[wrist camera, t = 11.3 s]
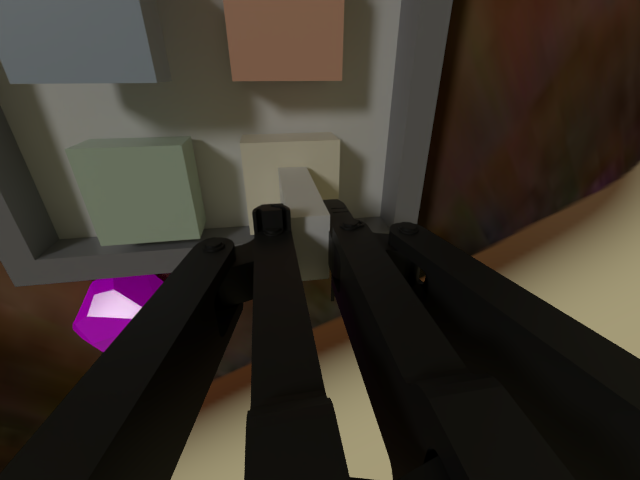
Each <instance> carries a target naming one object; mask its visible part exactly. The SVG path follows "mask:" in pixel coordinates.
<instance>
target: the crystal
mask: <svg viewBox="0 0 640 480" xmlns="http://www.w3.org/2000/svg"><path fill="white" fill-rule="evenodd" d="M162 283H163V281H162V280H161V279H159V278H158V277H157V276H156V275H154V274H151V275H140V276H129V277H117V278H106V279H97V280H95V281H93V282H92V283H91V285H90V287H89V289H88V292H87V294H86V296H85V299H84V301H83V304H82V306H81V308H80V310H79V312H78V314H77V316H76V319H75V321H74V323H73V330H74V331H75V332H76V333H77V334H78V335H79V336H80V337H81V338H82V339H83V340H85V341H86V342H88V343H90V344H91V345H93V346H94V347H96V348H97V349H99V350H100V351H102V352H104V351H105V350H106V349H107V348H108V347H109V345H110V344H111V343H112V342H113V341H114V340H115V338H116V337H117V336H118V335H119V334H120V333H121V331H122V330H123V329H124V328H125V327H126V326H127V324H128V323H129V322H130V321H131V320H132V318H133V317H134V316H135V315H136V314H137V313H138V311H139V310H140V309H141V308H142V307H143V306H144V304H145V303H146V302H147V301H148V300H149V299H150V297H151V296H152V295H153V294H154V293H155V292H156V290H157V289H158V288H159V287H160V286H161V285H162Z"/></svg>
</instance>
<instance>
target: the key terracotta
mask: <svg viewBox="0 0 640 480" xmlns="http://www.w3.org/2000/svg"><path fill="white" fill-rule="evenodd" d="M223 5H224V14H225V22H226V31H227V39H228V48H229V57H230V65H231V74H232V81H342V66H343V32H344V0H223Z"/></svg>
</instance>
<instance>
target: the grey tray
mask: <svg viewBox="0 0 640 480" xmlns="http://www.w3.org/2000/svg"><path fill="white" fill-rule="evenodd" d="M156 2H157V7H158V12H159V17H160V22H161V27H162V33H163V38H164V43H165V48H166V53H167V58H168V63H169V68H170V73H171V78H172V81H170V82H162V83H74V84H10V82H9V80H8V78H7V75H6V73H5V70H4V68H3V65H2V63H1V61H0V260H1V262H2V264H3V266H4V268H5V269H6V271H7V273H8V275H9V277H10V278H11V280H12V282H13V284H14V285H15V287H17V286H28V285H39V284H50V283H62V282H73V281H84V280H95V279H106V278H117V277H129V276H140V275H151V274H162V273H172V272H173V270H174V269H175V268H176V267H177V266H178V265H179V263H180V262H181V261H182V260H183V259H184V258H185V256H186V255H187V254H188V253H189V252H190V251H191V249H192V248H193V247H194V246H195V245H196V244H197V243H199V242H201V241H203V240H205V239H208V238H212V237H216V238H217V237H222V238H228V239H230V240H232V241H233V242H234V245H235V246H239V245H242V244H245V243H248V242H250V241H251V240H253V239H254V235H250V227H249V219H248V210H247V202H246V193H245V185H244V176H243V168H242V159H241V150H240V140H241V136H242V135H247V134H281V133H315V132H331V133H333V134H334V135H335V136H336V137H337V138H338V139H340V167H339V200H340V201H342V202H343V203H344V204H345V205H346V207H347V208H348V210H349V212H350V213H351V214H352V216H353V218H354V219H357V220H360V221H363V222H365V223H366V224H367V225H368V227H369V228H370V229H371V231H372V232H374V233H384V234H389V229H390V226H391V225H392V224H395V223H401V222H411V223H413V224H417V221H418V215H419V209H420V202H421V196H422V190H423V184H424V177H425V171H426V165H427V159H428V152H429V146H430V140H431V134H432V128H433V121H434V115H435V109H436V103H437V96H438V90H439V84H440V78H441V71H442V65H443V59H444V53H445V47H446V40H447V34H448V28H449V22H450V15H451V9H452V3H453V0H344V32H343V66H342V81H232V74H231V65H230V57H229V48H228V39H227V31H226V22H225V14H224V5H223V0H156ZM178 136H191V139H192V145H193V150H194V155H195V161H196V166H197V172H198V177H199V182H200V188H201V193H202V198H203V204H204V209H205V214H206V220H207V221H206V224H205V227H204V230H203V232H202V235H201V238H200V239H190V240H177V241H164V242H150V243H137V244H124V245H111V246H101V245H100V242H99V240H98V237H97V234H96V232H95V229H94V226H93V224H92V221H91V218H90V216H89V213H88V210H87V208H86V205H85V203H84V200H83V197H82V195H81V192H80V189H79V187H78V184H77V181H76V179H75V176H74V173H73V171H72V168H71V165H70V163H69V160H68V157H67V155H66V152H65V149H66V148H69V147H71V146H74V145H76V144H79V143H81V142H83V141H86V140H88V139H110V138H144V137H178Z"/></svg>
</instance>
